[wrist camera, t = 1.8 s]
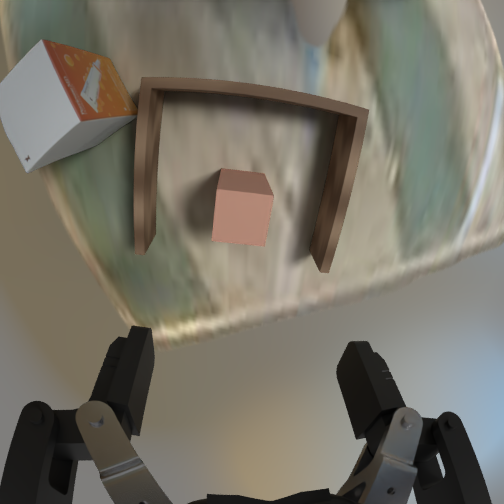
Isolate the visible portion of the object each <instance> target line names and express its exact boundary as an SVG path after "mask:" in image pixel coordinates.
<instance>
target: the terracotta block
mask: <svg viewBox="0 0 504 504" xmlns="http://www.w3.org/2000/svg"><path fill="white" fill-rule="evenodd" d="M273 198H274V195H273V192H272V190H271V188H270V185H269V183H268V181H267V179H266V176H265V174H264V173H256V172H248V171H240V170H231V169H222V168H221V172H220V177H219V181H218V186H217V192H216V202H215V211H214V221H213V232H212V241H217V242H227V243H237V244H246V245H256V246H265V243H266V237H267V232H268V226H269V221H270V215H271V210H272V204H273Z"/></svg>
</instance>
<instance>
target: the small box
mask: <svg viewBox="0 0 504 504" xmlns="http://www.w3.org/2000/svg"><path fill="white" fill-rule="evenodd" d="M137 115H138V109H137V108H136V106H135V104H134V103H133V101H132V99H131V97H130V96H129V94H128V92H127V90H126V89H125V87H124V85H123V83H122V81H121V79H120V77H119V76H118V74H117V72H116V70H115V68H114V66H113V64H112V62H111V60H110V59H109V58H107V57H104V56H101V55H98V54H94V53H91V52H88V51H85V50H81V49H78V48H74V47H71V46H67V45H63V44H59V43H55V42H51V41H47V40H43V39H41V40H40V41H39V42H38V43H37V44H36V45H35V46H34V47H33V48H32V49H31V50H30V51H29V52H28V53H27V54H26V55H25V56H24V57H23V58H22V59H21V60H20V61H19V62H18V64H17V65H16V66H15V67H14V68H13V69H12V70H11V71H10V73H9V74H8V75H7V76H6V77H5V78H4V79H3V81H2V82H1V83H0V119H1V122H2V125H3V127H4V130H5V133H6V135H7V137H8V139H9V141H10V142H11V144H12V146H13V148H14V150H15V152H16V154H17V156H18V158H19V160H20V162H21V163H22V165H23V167H24V169H25V171H26V173H30V172H32V171H34V170H36V169H38V168H41V167H43V166H45V165H48V164H50V163H52V162H55V161H57V160H60V159H62V158H65V157H67V156H70V155H73V154H76V153H78V152H81V151H83V150H86V149H89V148H91V147H94V146H97V145H98V144H99V143H101V142H102V141H103V140H105V139H106V138H107V137H109V136H110V135H111V134H113V133H114V132H116V131H117V130H119V129H120V128H121V127H123V126H124V125H126V124H127V123H129V122H130V121H132V120H133V119H135V118H136V117H137Z"/></svg>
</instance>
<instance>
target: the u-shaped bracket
mask: <svg viewBox="0 0 504 504" xmlns="http://www.w3.org/2000/svg"><path fill="white" fill-rule="evenodd" d="M165 91H179V92H198V93H211V94H222V95H232V96H241V97H248V98H256V99H263V100H269V101H275V102H281V103H287V104H292V105H297V106H302V107H307V108H312V109H316V110H321V111H325V112H329V113H334V114H338V115H339V118H338V123H337V129H336V134H335V139H334V144H333V149H332V154H331V159H330V164H329V168H328V173H327V178H326V182H325V187H324V191H323V195H322V200H321V204H320V208H319V213H318V217H317V221H316V225H315V229H314V233H313V237H312V241H311V245H310V249H309V250H310V252H311V255H312V257H313V259H314V261H315V263H316V265H317V267H318V269H319V271H320V272H322V273H329V270H330V267H331V264H332V261H333V257H334V254H335V251H336V247H337V244H338V240H339V237H340V233H341V230H342V226H343V222H344V219H345V215H346V211H347V207H348V204H349V200H350V196H351V192H352V188H353V184H354V179H355V175H356V171H357V167H358V162H359V158H360V153H361V149H362V144H363V139H364V134H365V129H366V124H367V119H368V114H369V110H368V109H365V108H362V107H358V106H355V105H351V104H348V103H344V102H340V101H336V100H333V99H329V98H324V97H320V96H316V95H311V94H307V93H302V92H297V91H292V90H287V89H281V88H276V87H270V86H263V85H256V84H249V83H241V82H233V81H223V80H212V79H197V78H174V77H142V79H141V86H140V95H139V104H138V115H137V127H136V141H135V161H134V239H135V254H139V255H145V253H146V251H147V249H148V248H149V246H150V244H151V242H152V240H153V238H154V237H155V235H156V194H157V171H158V154H159V141H160V129H161V119H162V109H163V100H164V92H165Z"/></svg>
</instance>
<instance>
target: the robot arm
mask: <svg viewBox="0 0 504 504" xmlns="http://www.w3.org/2000/svg"><path fill="white" fill-rule="evenodd" d="M154 356H155V355H154V346H153V337H152V330H151V328H146V327H139V326H132V327H131V329H130V332H129V335H128V337H127V338H124V337H118V338H117V339H116V340H115V341H114V342H113V343H112V344H111V345H110V347H109V349H108V352H107V354H106V358H105V359H104V362H103V366H102V367H101V370H100V373H99V375H98V378H97V381H96V384H95V386H94V389H93V392H92V395H91V397H90V399H89V401H88V402H86V403H84V404H82V405H81V406H80V407H79V408H78V409H74V410H52V409H51V408H50V407H49V405H47V404H46V403H44V402H41V401H33V402H30V403H28V404H27V405H26V406H25V407H24V408H23V410H22V412H21V415H20V417H19V420H18V423H17V426H16V429H15V432H14V436H13V438H12V442H11V445H10V449H9V452H8V456H7V460H6V464H5V467H4V472H3V476H2V480H1V485H0V504H72V499H73V491H74V484H75V478H76V471H77V465H78V460H93V461H94V463H95V465H96V467H97V469H98V471H99V473H100V478H101V481H102V483H103V485H104V486H105V488H106V490H107V492H108V494H109V495H110V497H111V499H112V500H113V502H114V504H173V503H172V502H171V501H170V500H169V498H168V497H167V496H166V494H165V493H164V492H163V490H162V489H161V488H160V486H159V485H158V483H157V482H156V480H155V479H154V478H153V476H152V475H151V473H150V472H149V470H148V469H147V467H146V466H145V464H144V463H143V461H142V460H141V459H140V458H139V456H138V454H137V453H136V451H135V450H134V448H133V446H132V445H131V443H130V440H131V435H137V436H140V430H141V425H142V420H143V415H144V410H145V405H146V400H147V395H148V390H149V386H150V382H151V377H152V373H153V368H154V359H155V357H154ZM336 374H337V379H338V383H339V385H340V389H341V392H342V395H343V398H344V401H345V404H346V408H347V411H348V414H349V418H350V421H351V424H352V428H353V431H354V434H355V438H356V439H362V438H366V441H367V443H366V444H365V445H364V447H363V449H362V452H361V454H360V456H359V458H358V460H357V462H356V464H355V466H354V468H353V471H352V472H351V474H350V476H349V478H348V480H347V481H346V482H345V483H344V485H343V486H342V487H341V488H340V490H339V491H338V493H337V494H336V495H334V494H330V492H329V488H327V489H321V490H314V491H306V492H300V493H297V494H294V495H291V496H288V497H284V498H281V499H278V500H274V501H265V500H260V499H254V498H249V497H244V496H240V495H215V494H207V499H201V500H197V501H193V502H190V503H188V504H407V501H408V498H409V496H410V493H411V490H412V487H413V489H414V493H415V497H416V501H417V504H492V503H491V500H490V496H489V493H488V490H487V486H486V483H485V480H484V478H483V474H482V471H481V469H480V466H479V463H478V460H477V458H476V455H475V452H474V450H473V447H472V445H471V442H470V440H469V438H468V435H467V433H466V430H465V428H464V426H463V423H462V421H461V419H460V418H459V417H458V416H457V415H456V414H454V413H452V412H444V413H442V414H441V415H440V416H439V417H438V418H437V419H433V418H423V417H421V416H420V414H419V413H418V412H417V411H416V410H414V409H412V408H409V407H406V405H405V403H404V401H403V398H402V396H401V394H400V392H399V390H398V387H397V385H396V383H395V381H394V380H393V377H392V375H391V372H389V368H388V367H387V364H386V362H385V360H384V359H383V358H382V357H381V356H380V355H379V354H378V353H377V352H375V353H374V352H373V350H372V348H371V346H370V344H369V342H367V341H351V342H349V343H348V345H347V347H346V349H345V351H344V353H343V355H342V357H341V359H340V361H339V364H338V365H337V371H336ZM438 453H440V456H441V459H442V462H443V465H444V469H445V477H444V478H443V476H442V473H441V469H440V466H439V464H438V460H437V457H436V455H437V454H438Z"/></svg>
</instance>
